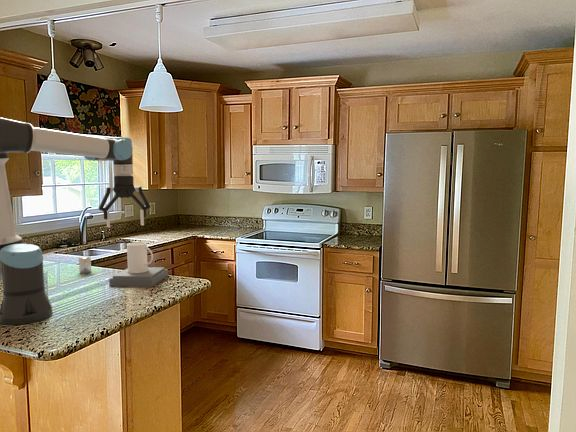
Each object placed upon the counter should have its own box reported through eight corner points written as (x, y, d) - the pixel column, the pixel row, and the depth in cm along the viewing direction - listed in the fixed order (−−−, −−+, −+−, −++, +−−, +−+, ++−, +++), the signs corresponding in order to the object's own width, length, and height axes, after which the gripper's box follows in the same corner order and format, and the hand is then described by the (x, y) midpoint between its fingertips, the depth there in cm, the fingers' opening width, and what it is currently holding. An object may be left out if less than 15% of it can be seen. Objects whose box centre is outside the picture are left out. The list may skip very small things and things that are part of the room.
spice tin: (87, 273, 204) (86, 258, 203) (77, 273, 204) (76, 258, 204) (93, 271, 209) (92, 256, 208) (83, 271, 209) (82, 256, 208)
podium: (152, 286, 181) (151, 277, 180) (109, 286, 183) (109, 276, 182) (168, 275, 199) (167, 266, 198) (129, 275, 200) (128, 266, 200)
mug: (158, 270, 192) (157, 242, 191) (145, 274, 184) (144, 246, 183) (136, 268, 196) (135, 241, 195) (123, 272, 188) (121, 244, 187)
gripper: (92, 175, 175) (94, 229, 177) (156, 175, 188) (158, 225, 190) (89, 175, 181) (92, 227, 184) (151, 174, 194) (153, 223, 196)
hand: (125, 226), depth 187 cm, fingers open, 13 cm apart
